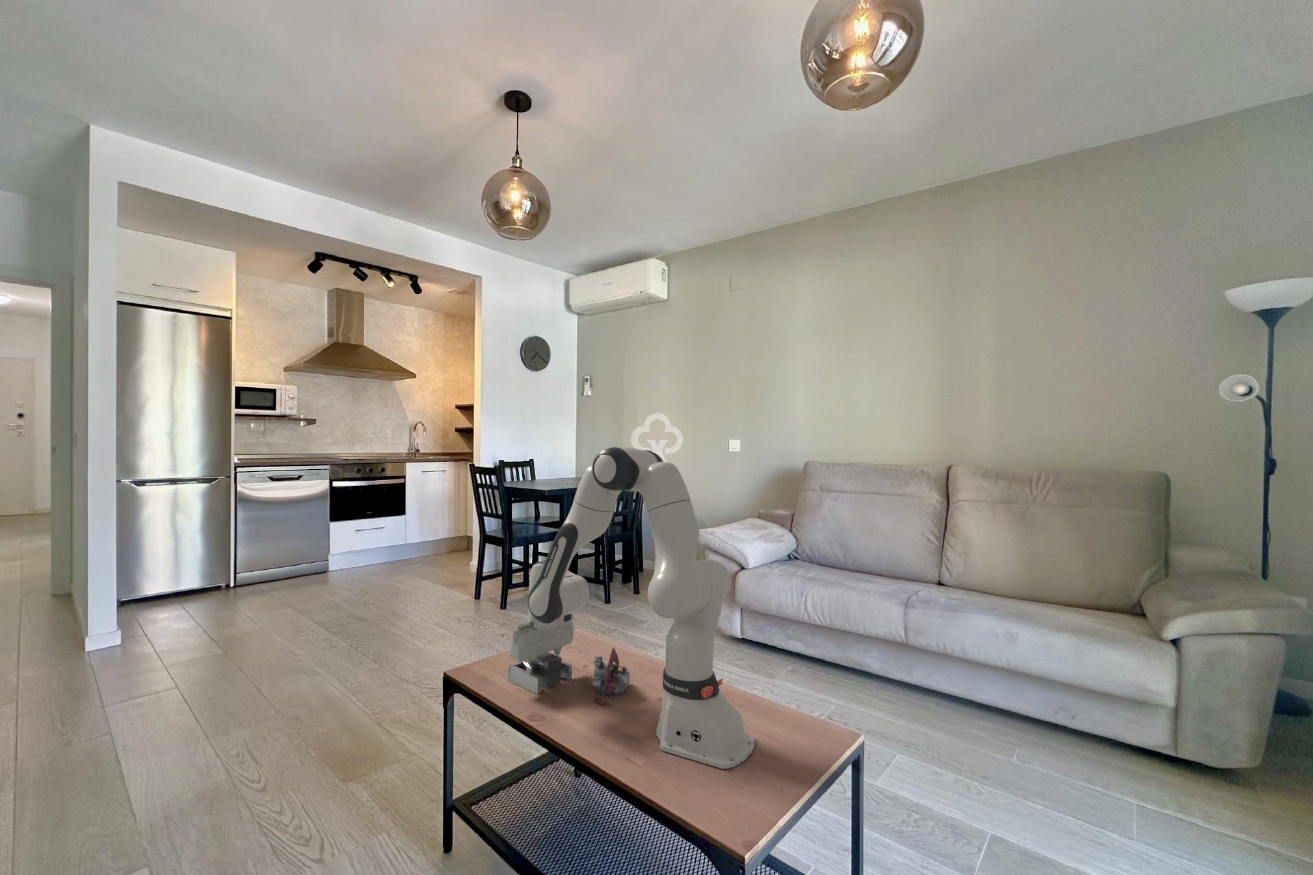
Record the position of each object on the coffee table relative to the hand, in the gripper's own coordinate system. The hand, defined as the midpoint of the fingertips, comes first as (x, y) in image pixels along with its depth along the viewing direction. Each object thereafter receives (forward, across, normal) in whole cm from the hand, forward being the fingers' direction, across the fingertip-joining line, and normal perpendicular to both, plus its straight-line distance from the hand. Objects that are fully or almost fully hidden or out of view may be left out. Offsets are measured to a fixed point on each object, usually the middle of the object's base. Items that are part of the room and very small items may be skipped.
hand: (542, 668), depth 146 cm
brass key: (+3, +17, -11) cm, 21 cm away
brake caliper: (+4, +9, -18) cm, 20 cm away
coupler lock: (+4, 0, 0) cm, 4 cm away
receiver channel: (+3, 0, 0) cm, 3 cm away
